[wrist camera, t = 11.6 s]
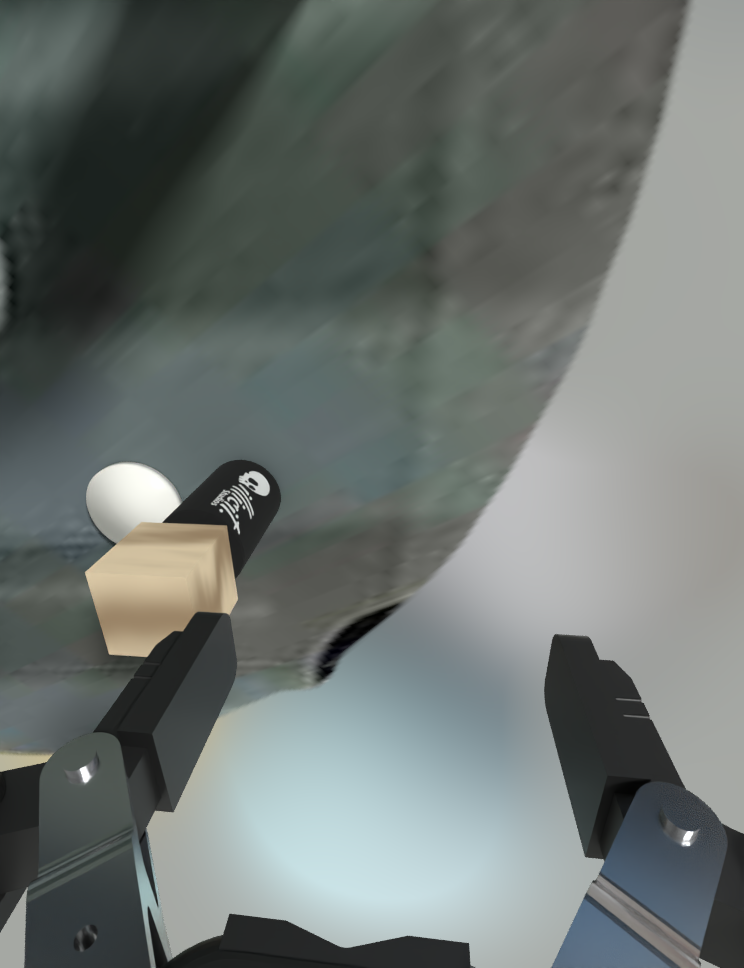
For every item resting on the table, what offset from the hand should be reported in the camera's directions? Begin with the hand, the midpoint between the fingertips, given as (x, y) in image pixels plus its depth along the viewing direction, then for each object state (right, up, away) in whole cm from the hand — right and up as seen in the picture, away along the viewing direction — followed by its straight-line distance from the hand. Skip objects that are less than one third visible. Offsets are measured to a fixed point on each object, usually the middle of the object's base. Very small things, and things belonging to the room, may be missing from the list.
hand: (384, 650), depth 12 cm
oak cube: (-13, -1, +22) cm, 26 cm away
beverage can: (-12, +4, +33) cm, 35 cm away
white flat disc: (-23, +2, +35) cm, 42 cm away
